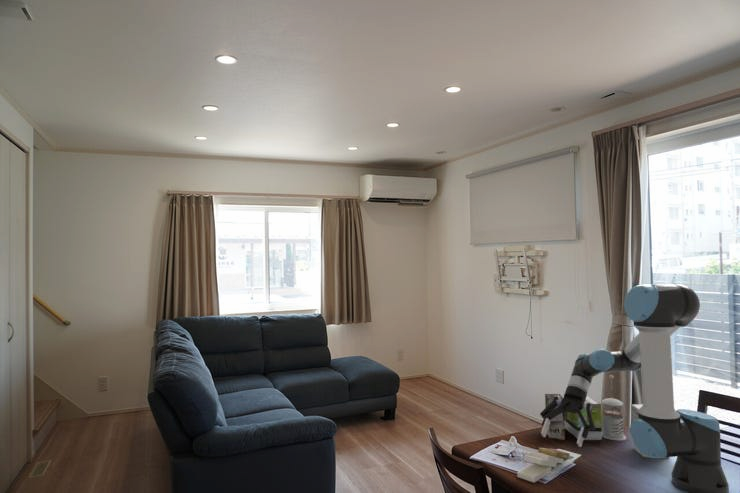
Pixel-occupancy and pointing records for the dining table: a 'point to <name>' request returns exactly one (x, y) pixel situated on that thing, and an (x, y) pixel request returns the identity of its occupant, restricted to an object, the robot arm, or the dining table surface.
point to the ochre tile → (554, 452)
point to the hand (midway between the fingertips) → (560, 440)
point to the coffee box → (556, 420)
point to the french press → (612, 419)
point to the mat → (565, 462)
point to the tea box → (575, 423)
